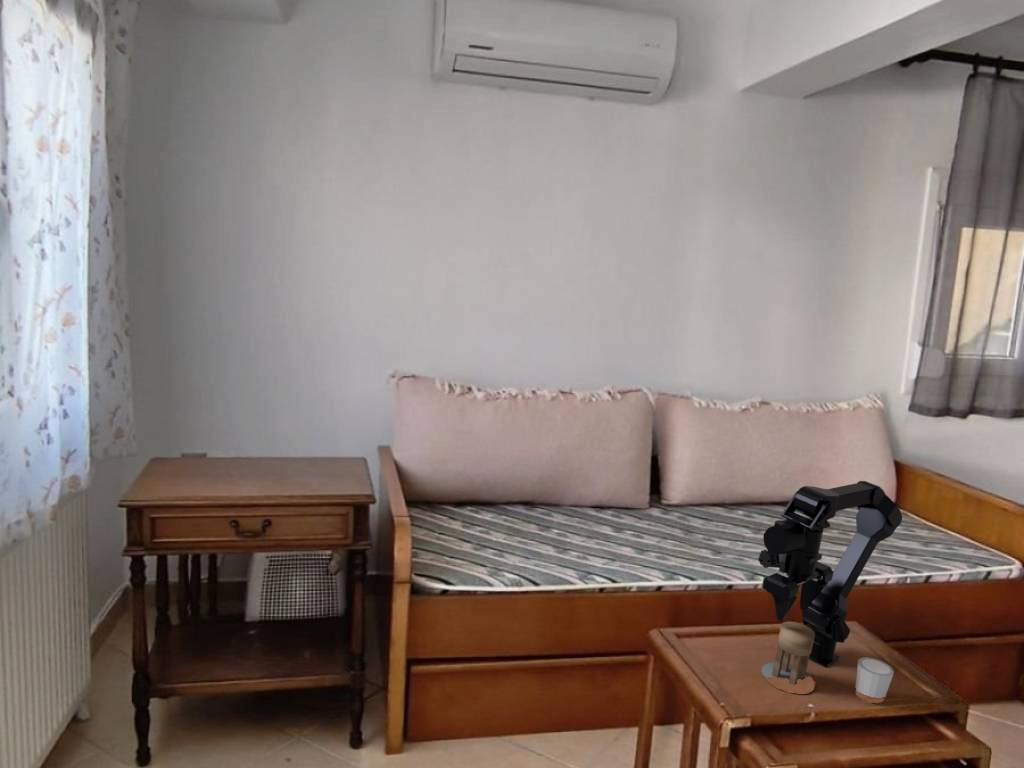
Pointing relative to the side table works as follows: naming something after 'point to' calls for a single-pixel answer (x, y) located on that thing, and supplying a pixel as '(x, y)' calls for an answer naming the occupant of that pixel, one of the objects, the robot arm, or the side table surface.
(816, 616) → the robot arm
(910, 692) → the side table surface
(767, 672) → the mat
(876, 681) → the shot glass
